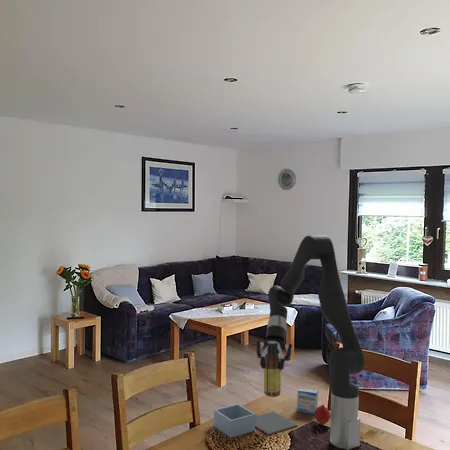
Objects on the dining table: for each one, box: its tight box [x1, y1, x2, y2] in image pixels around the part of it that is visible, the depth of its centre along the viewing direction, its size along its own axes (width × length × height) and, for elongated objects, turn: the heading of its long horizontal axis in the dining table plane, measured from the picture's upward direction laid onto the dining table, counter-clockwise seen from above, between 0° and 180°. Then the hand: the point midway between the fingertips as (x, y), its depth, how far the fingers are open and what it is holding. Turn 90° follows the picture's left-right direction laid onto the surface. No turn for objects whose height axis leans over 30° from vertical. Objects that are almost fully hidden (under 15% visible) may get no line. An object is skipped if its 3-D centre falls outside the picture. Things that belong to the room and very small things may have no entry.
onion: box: [313, 403, 331, 426], centre depth 177 cm, size 6×6×8 cm
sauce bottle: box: [263, 341, 282, 398], centre depth 177 cm, size 7×6×20 cm
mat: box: [255, 411, 298, 436], centre depth 177 cm, size 14×14×1 cm
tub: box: [213, 403, 257, 439], centre depth 172 cm, size 11×11×6 cm
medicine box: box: [296, 387, 319, 415], centre depth 189 cm, size 8×4×9 cm, turn 73°
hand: (271, 368), depth 175 cm, fingers closed on sauce bottle, 6 cm apart
